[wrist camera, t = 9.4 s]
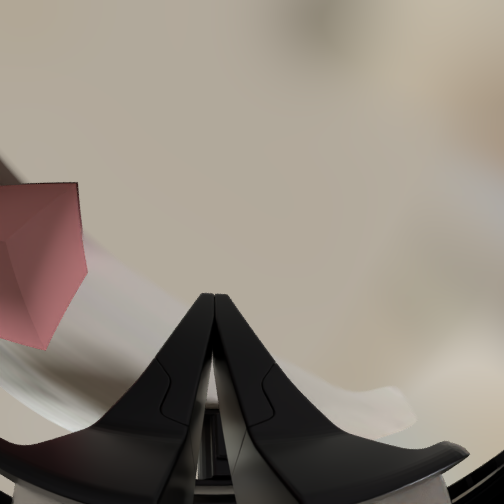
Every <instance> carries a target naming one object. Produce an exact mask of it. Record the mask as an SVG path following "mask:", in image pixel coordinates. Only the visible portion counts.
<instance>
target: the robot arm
mask: <svg viewBox="0 0 504 504" xmlns="http://www.w3.org/2000/svg"><path fill="white" fill-rule="evenodd" d="M212 356H213V368H214V375H215V382H216V389H217V396H218V403H219V409H220V410H205V404H206V397H207V390H208V383H209V377H210V370H211V363H212ZM469 455H470V453H469V452H468V451H467V450H466V449H465V448H463V447H462V446H460V445H457V444H455V443H451V442H448V441H443V442H440V443H437V444H435V445H433V446H430V447H428V448H424V449H406V448H400V447H396V446H392V445H388V444H384V443H380V442H376V441H373V440H369V439H366V438H362V437H359V436H356V435H352V434H349V433H347V432H345V431H343V430H342V429H340V428H338V427H337V426H336V425H334V424H333V423H332V422H331V421H330V420H329V419H328V418H327V417H326V416H325V415H323V414H322V413H321V412H320V411H319V410H318V409H317V408H316V407H315V406H314V405H313V404H312V403H311V402H310V401H309V400H308V399H307V398H306V397H305V396H304V395H303V394H302V393H301V392H300V391H299V390H298V389H297V388H296V386H295V385H294V384H293V383H292V382H291V381H290V380H289V378H288V377H287V376H286V375H285V373H284V372H283V371H282V369H281V368H280V367H279V365H278V364H277V363H276V362H275V360H274V359H273V357H272V356H271V355H270V353H269V352H268V351H267V349H266V348H265V347H264V345H263V344H262V342H261V341H260V340H259V338H258V337H257V335H255V333H254V331H253V330H252V329H251V327H250V326H249V324H248V323H247V322H246V320H245V319H244V317H243V316H242V314H241V313H240V312H239V310H238V309H237V308H236V306H235V304H234V303H233V302H232V300H231V299H230V297H229V296H228V295H227V294H215V296H214V294H212V293H202V294H200V296H199V297H198V298H197V300H196V301H195V302H194V304H193V305H192V307H191V308H190V309H189V311H188V312H187V313H186V315H185V316H184V317H183V319H182V320H181V322H180V323H179V324H178V326H177V327H176V328H175V330H174V331H173V333H172V334H171V335H170V337H169V338H168V339H167V341H166V342H165V344H164V345H163V346H162V348H161V349H160V350H159V352H158V353H157V355H156V356H155V358H154V359H153V360H152V361H151V363H150V364H149V366H148V367H147V368H146V370H145V371H144V372H143V373H142V375H141V376H140V377H139V378H138V380H137V381H136V382H135V383H134V384H133V385H132V386H131V387H130V388H129V390H128V391H127V392H126V393H125V394H124V395H123V396H122V397H121V398H120V399H119V400H118V401H117V402H116V403H115V404H114V405H113V406H112V407H111V408H110V409H109V410H108V411H107V412H106V413H105V414H104V415H103V416H102V417H101V418H100V419H99V420H98V421H97V422H96V423H94V424H93V425H91V426H89V427H88V428H85V429H83V430H80V431H77V432H74V433H71V434H68V435H65V436H61V437H58V438H55V439H52V440H48V441H45V442H41V443H38V444H33V445H17V444H13V443H10V442H8V441H6V440H4V439H2V438H0V474H1V475H3V476H4V477H6V478H8V479H9V480H11V481H12V482H14V483H15V488H14V493H13V497H11V496H9V495H7V494H6V493H4V492H2V491H0V504H504V450H503V451H501V452H500V453H499V454H497V455H496V456H495V457H493V458H492V459H491V460H489V461H488V462H486V463H485V464H483V465H482V466H480V467H479V468H477V469H476V470H475V471H473V472H471V473H470V474H468V475H467V476H465V477H463V478H462V479H460V480H458V481H457V482H455V483H453V484H452V485H450V486H448V487H447V486H446V484H445V481H444V479H443V476H442V474H443V473H445V472H446V471H448V470H449V469H451V468H452V467H454V466H455V465H457V464H458V463H460V462H461V461H463V460H464V459H465V458H467V457H468V456H469ZM197 464H198V479H196V472H197Z"/></svg>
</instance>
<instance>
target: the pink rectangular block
mask: <svg viewBox="0 0 504 504" xmlns="http://www.w3.org/2000/svg"><path fill="white" fill-rule="evenodd" d="M81 232H82V233H83V228H82V220H81V210H80V200H79V188H78V182H49V183H48V182H47V183H25V185H5V186H0V338H2V339H5V340H9V341H12V342H15V343H19V344H22V345H26V346H30V347H33V348H37V349H41V350H45V351H46V349H47V347H48V344H49V342H50V340H51V338H52V336H53V334H54V332H55V330H56V328H57V326H58V324H59V322H60V321H61V319H62V317H63V315H64V313H65V311H66V309H67V307H68V306H69V304H70V302H71V300H72V298H73V297H74V295H75V293H76V291H77V290H78V288H79V286H80V285H81V283H82V281H83V280H84V278H85V276H86V275H87V273H88V270H87V265H86V260H85V254H84V248H83V241H82V235H81Z"/></svg>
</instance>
